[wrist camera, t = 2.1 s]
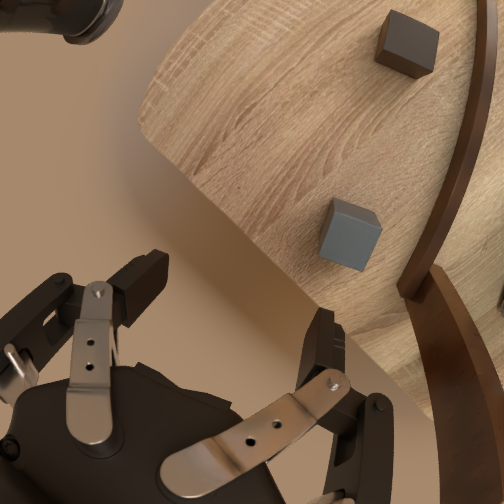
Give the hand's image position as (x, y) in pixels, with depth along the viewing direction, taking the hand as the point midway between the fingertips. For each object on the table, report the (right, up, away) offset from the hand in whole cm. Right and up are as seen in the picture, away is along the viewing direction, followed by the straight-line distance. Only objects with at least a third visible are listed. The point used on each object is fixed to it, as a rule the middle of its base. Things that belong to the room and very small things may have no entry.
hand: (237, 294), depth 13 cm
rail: (+23, +18, +3) cm, 30 cm away
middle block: (+15, +21, +4) cm, 26 cm away
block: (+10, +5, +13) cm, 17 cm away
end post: (+20, -1, +13) cm, 24 cm away
